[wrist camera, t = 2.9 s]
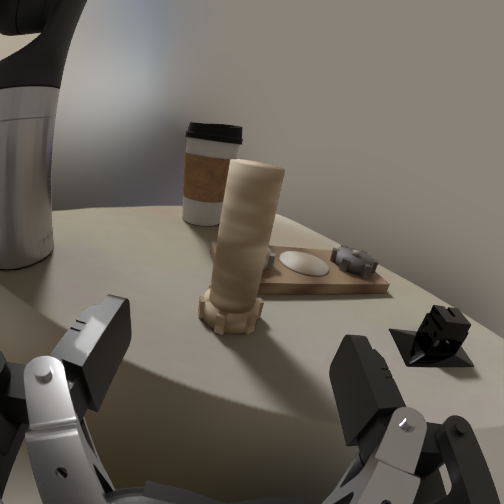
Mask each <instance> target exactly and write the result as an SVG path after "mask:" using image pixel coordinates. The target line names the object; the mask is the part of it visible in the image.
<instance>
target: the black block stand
mask: <svg viewBox="0 0 504 504" xmlns="http://www.w3.org/2000/svg"><path fill="white" fill-rule="evenodd" d="M470 326H471V324H470V322H469V321H468V320H467V319H466V318H465V316H464V315H463V314H462V313H461V312H460V311H459V309H457V308H450V307H448V309H446V308H445V307H444V306H438V305H433V307H432V309H431V311H430V313H427V314H426V316H425V318H424V320H423V322H422V324H421V325H420V327H419V329H418V331H407V330H398V329H389V331H390V333H391V335H392V337H393V339H394V341H395V343H396V345H397V348H398V350H399V352H400V354H401V356H402V358H403V360H404V363H405V365H406V366H407V367H474V365H473V363H472V362H471V360H470V359H469V357H468V356H467V354H466V353H465V351H464V350H463V348H462V347H461V345H462V344H463V342H464V340H465V339H466V337H467V335H468V330H469V328H470Z"/></svg>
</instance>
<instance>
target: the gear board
mask: <svg viewBox="0 0 504 504" xmlns="http://www.w3.org/2000/svg"><path fill="white" fill-rule="evenodd" d="M216 245H217V242H211V247H210V253H211V256H212V260H213V263H214V259H215V252H216ZM377 265H378V262H377V260H374V259H373V258H372V257H370V256H369V255H368V254H367V252H365V251H359V250H357V249H353V248H349V247H347V246H344V245H341V247H339V248H338V249H336V248H333V250H332V251H329V250H317V249H304V248H291V247H278V246H269V245H268V250H267V254H266V259H265V263H264V268H263V272H262V276H261V281H260V285H259V289H258V294H354V293H386V292H387V289H388V287H389V285H390V284H389V283H388V282H387V281H386V280H384V279H383V278H382V277H381V276H380V275H379V274H377V273H376V272H375V270H376V267H377Z"/></svg>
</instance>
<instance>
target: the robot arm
mask: <svg viewBox="0 0 504 504" xmlns="http://www.w3.org/2000/svg"><path fill="white" fill-rule="evenodd" d="M86 2H87V0H0V33H1V34H3V35H8V36H15V35H25V34H33V33H41V34H40V35H39V36H38V37H37V38H35V39H34V40H33V41H32V42H30V43H29V44H28V45H26V46H25V47H24V48H22V49H20V50H19V51H17V52H15V53H14V54H12V55H10V56H8V57H6V58H4V59H2V60H1V61H0V269H15V268H21V267H25V266H28V265H31V264H34V263H36V262H38V261H40V260H42V259H43V258H45V257H46V256H48V255H49V254H50V253H51V251H52V250H53V247H54V241H53V226H52V209H51V208H52V207H51V169H52V168H51V167H52V148H53V136H54V126H55V117H56V110H57V103H58V97H59V89H60V86H61V80H62V75H63V70H64V66H65V62H66V58H67V54H68V50H69V46H70V43H71V40H72V37H73V34H74V31H75V28H76V26H77V23H78V21H79V18H80V15H81V13H82V11H83V9H84V6H85V4H86ZM130 341H131V319H130V303H129V300H128V299H126V298H122V297H118V296H114V295H110V294H109V295H107V296H106V298H105V299H104V300H103V302H102V303H101V304H100V306H98V305H95V304H94V305H92V306H91V307H89V308H87V309H86V310H84V311H83V312H82V313H81V314H80V316H79V317H78V318H77V319H76V322H74V323H73V325H72V326H71V328H70V329H69V330H68V331H67V332H66V334H65V335H64V336H63V338H62V339H61V340H60V342H59V343H58V344H57V346H56V347H55V348H54V350H53V351H52V353H51V354H50V355H49V356H40V357H36V358H34V359H33V360H31V361H30V362H29V363H28V364H27V365H21V364H15V363H9V362H6V360H5V357H4V355H3V353H2V352H1V351H0V504H3V502H2V500H1V499H2V496H3V492H4V489H5V486H6V483H7V480H8V477H9V474H10V472H11V469H12V466H13V464H14V461H15V459H16V456H17V454H18V451H19V449H20V446H21V444H22V441H23V439H24V437H25V438H26V445H27V449H28V454H29V458H30V462H31V466H32V470H33V474H34V477H35V481H36V484H37V487H38V490H39V494H40V496H41V499H42V502H43V504H305V497H304V496H301V497H265V498H260V499H254V500H248V501H242V502H234V503H223V502H220V501H216V500H214V499H211V498H208V497H205V496H202V495H199V494H197V493H194V492H191V491H189V490H186V489H183V488H178V487H172V486H168V485H164V484H159V483H155V482H151V481H146V484H145V487H132V488H123V489H119V490H115V489H114V487H113V485H112V483H111V481H110V479H109V477H108V475H107V473H106V471H105V470H104V468H103V466H102V464H101V461H100V459H99V456H98V454H97V452H96V449H95V447H94V444H93V441H92V438H91V436H90V433H89V430H88V427H87V424H86V421H85V418H84V415H85V413H86V411H87V409H90V410H93V411H96V412H98V411H99V408H100V406H101V404H102V402H103V399H104V397H105V395H106V393H107V390H108V388H109V386H110V384H111V382H112V380H113V378H114V376H115V374H116V372H117V370H118V367H119V365H120V363H121V361H122V359H123V357H124V355H125V353H126V351H127V349H128V347H129V344H130ZM388 369H389V368H388V366H387V364H386V362H385V360H384V358H383V357H382V356H381V355H380V354H379V353H378V352H377V351H376V350H375V349H372V347H371V345H370V343H369V341H368V339H367V337H366V336H360V335H345V336H344V338H343V340H342V342H341V344H340V346H339V348H338V350H337V353H336V355H335V357H334V359H333V361H332V363H331V366H330V371H329V376H330V381H331V385H332V389H333V393H334V397H335V400H336V404H337V408H338V412H339V417H340V421H341V425H342V429H343V433H344V437H345V441H346V446H357V445H358V446H359V451H358V452H357V453H356V455H355V457H354V458H353V460H352V462H351V464H350V465H349V467H348V469H347V470H346V472H345V474H344V475H343V477H342V479H341V480H340V482H339V483H338V485H337V487H336V488H335V490H334V491H333V492H332V493H331V495H330V496H329V497H328V498H327V499H326V500H325V501H324V502H323V503H322V504H500V501H499V498H498V494H497V491H496V488H495V485H494V482H493V480H492V477H491V474H490V471H489V469H488V466H487V463H486V461H485V458H484V456H483V453H482V451H481V449H480V446H479V444H478V442H477V439H476V437H475V434H474V432H473V430H472V428H471V426H470V424H469V423H468V422H467V420H465V419H464V418H462V417H460V416H457V415H453V416H450V417H449V418H447V420H446V421H445V422H444V423H443V424H436V423H429V422H426V421H425V419H424V417H423V416H422V414H421V413H420V412H418V411H417V410H415V409H413V408H410V407H406V405H405V403H404V400H403V398H402V396H401V394H400V392H399V389H398V387H397V385H396V383H395V381H394V378H392V374H391V372H390V370H388ZM29 426H30V430H28V428H29ZM443 464H446V467H447V471H448V474H449V477H450V480H451V484H452V488H451V491H450V493H449V494H448V495H446V491H445V488H444V485H443V481H442V478H441V474H440V471H439V468H440V467H441V466H442V465H443Z"/></svg>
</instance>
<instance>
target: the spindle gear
mask: <svg viewBox="0 0 504 504" xmlns="http://www.w3.org/2000/svg"><path fill="white" fill-rule="evenodd" d="M284 172H285V169H282V168H280V167H277V166H273V165H269V164H265V163H260V162H255V161H249V160H241V159H231V160H230V165H229V171H228V177H227V182H226V188H225V194H224V200H223V207H222V213H221V219H220V225H219V232H218V238H217V245H216V252H215V259H214V266H213V273H212V280H211V285H210V286H209V290H207V291H206V293H205V295H204V297H201V296H200V300H199V309H198V316H199V318H203V319H204V321H205V322H206V323H207V324H208V325H209V326H210V327H212V328H213V329H214V332H215V333H218V334H221V335H223V334H224V333H229V334H239V333H244V332H245V333H246V334H247V335H248V334H250V333H252V332H254V329H255V325H256V321H257V319H260V316H261V312H262V308H263V304H264V302H263V300H262V298H257V294H258V289H259V285H260V281H261V276H262V272H263V268H264V263H265V259H266V254H267V250H268V245H269V241H270V236H271V232H272V227H273V223H274V218H275V214H276V209H277V204H278V200H279V196H280V191H281V186H282V182H283V177H284Z"/></svg>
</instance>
